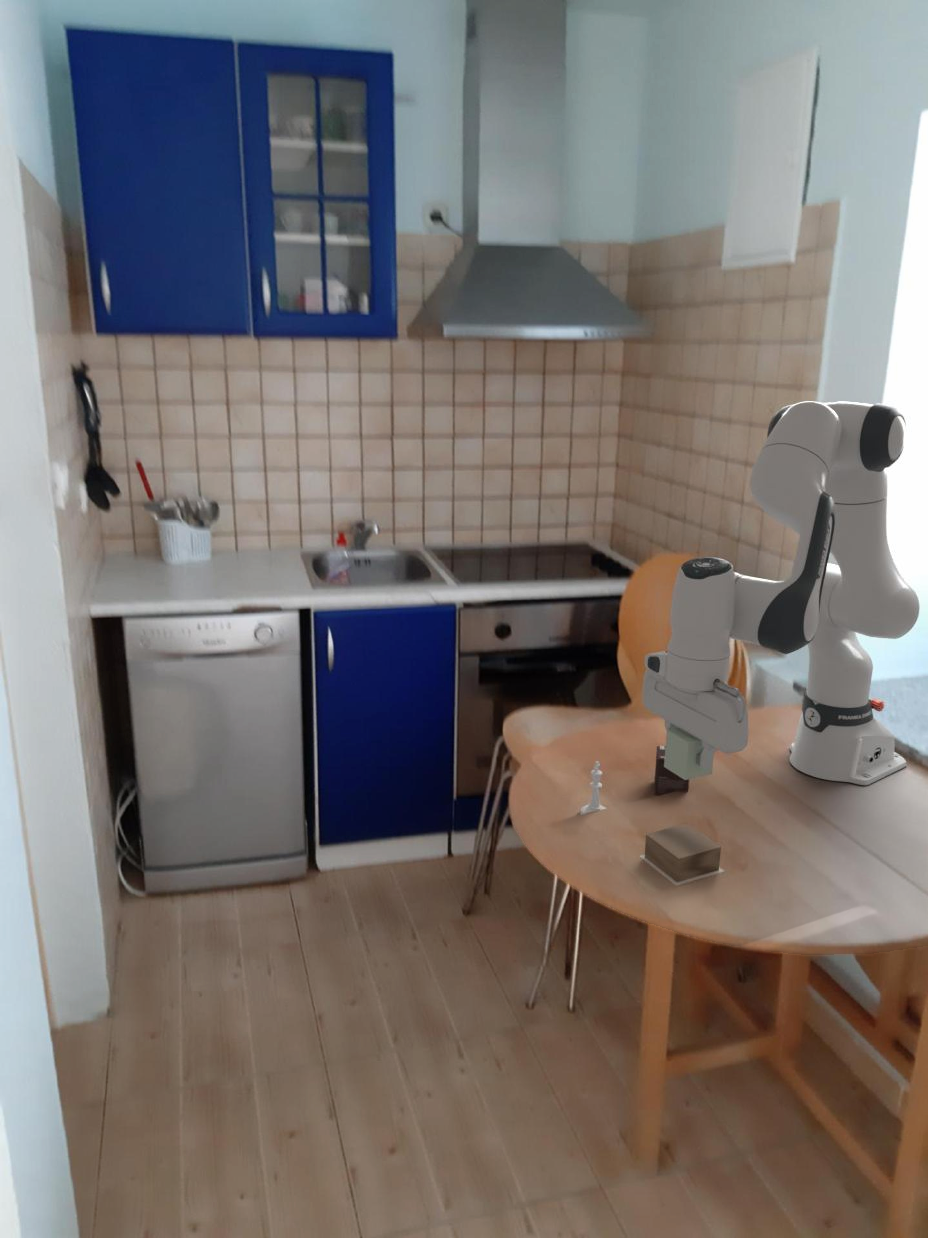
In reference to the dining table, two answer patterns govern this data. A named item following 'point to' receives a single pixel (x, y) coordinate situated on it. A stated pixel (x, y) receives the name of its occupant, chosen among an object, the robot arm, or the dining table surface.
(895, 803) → the dining table surface
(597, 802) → the chess piece
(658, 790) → the box
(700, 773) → the sage block
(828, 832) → the dining table surface
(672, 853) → the base block
